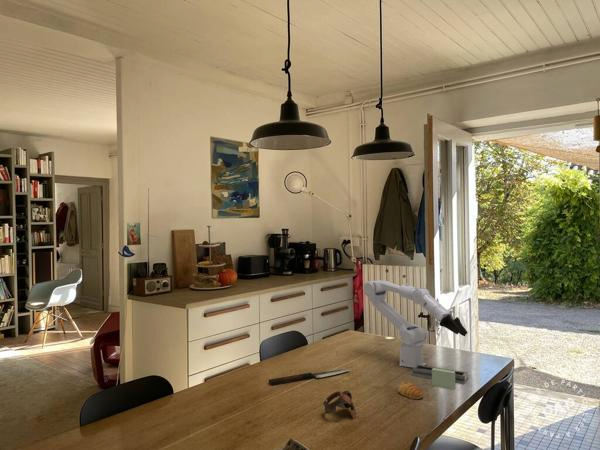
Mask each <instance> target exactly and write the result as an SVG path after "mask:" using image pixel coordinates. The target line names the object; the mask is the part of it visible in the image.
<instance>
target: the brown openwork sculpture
mask: <svg viewBox="0 0 600 450" xmlns="http://www.w3.org/2000/svg"><path fill="white" fill-rule="evenodd" d="M335 398H337V399H335ZM334 399H335V400H334ZM332 400H334V401H332ZM331 401H332V402H331ZM330 402H331V403H330ZM323 406H324V412H325V413H326V414H328V413H331V412H332V413H334V414H336V413H337V408H342V409H350V415H351V417H352V418H351V419H353V420H355V418H356V416H357V412H356V407H355V405H354V403H353V397H352V393H351V392H350V391H349V390H343V392H342V391H341V390H338V391H335V392H333V393H331V394H330V395H328V396H327V397H326V398H325V400H324V401H323Z"/></svg>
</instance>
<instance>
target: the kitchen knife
mask: <svg viewBox="0 0 600 450" xmlns="http://www.w3.org/2000/svg"><path fill="white" fill-rule="evenodd" d="M349 371H351V369H347V368H346V369H337V370H327V371H320V372H315V373H312V372H307V373H300V374H293V375H289V376H283V377H276V378H275V377H274V378H270V379H268V384H269V385H270V386H271V387H273V386H277V385H283V384H290V383H294V382H300V381H306V380H312V379H314V378H316V379H318V378H319V379H320V378H324V377H329V376H334V375H338V374H342V373H346V372H349Z"/></svg>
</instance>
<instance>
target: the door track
mask: <svg viewBox="0 0 600 450" xmlns="http://www.w3.org/2000/svg"><path fill="white" fill-rule="evenodd" d="M433 368H436V369H443V370H449V371H455V384H460V385H465V383H466V382H467V381H468V379H469V375H468V374H469V373H468V372H465V371H459V370H453V369H446V368H440V367H432V366H427V365H425V366H422V365H416V366H415V367H414V368H412V372H411V376H413V377H420V378H425V379H429V380H432V369H433Z"/></svg>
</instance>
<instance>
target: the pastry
mask: <svg viewBox="0 0 600 450" xmlns="http://www.w3.org/2000/svg"><path fill="white" fill-rule="evenodd" d="M397 391H398V392H399V394H401V395H402V396H404V397H406V398H409V399H412V400H419V399H422V398H423V396H424V393H423V391H422V390H421V388H420V387H418V385H417V384H415V383H412V382H411V383H410V381H406V380H405V381H402V382H401V383H400V384H399V386H398V388H397Z"/></svg>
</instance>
